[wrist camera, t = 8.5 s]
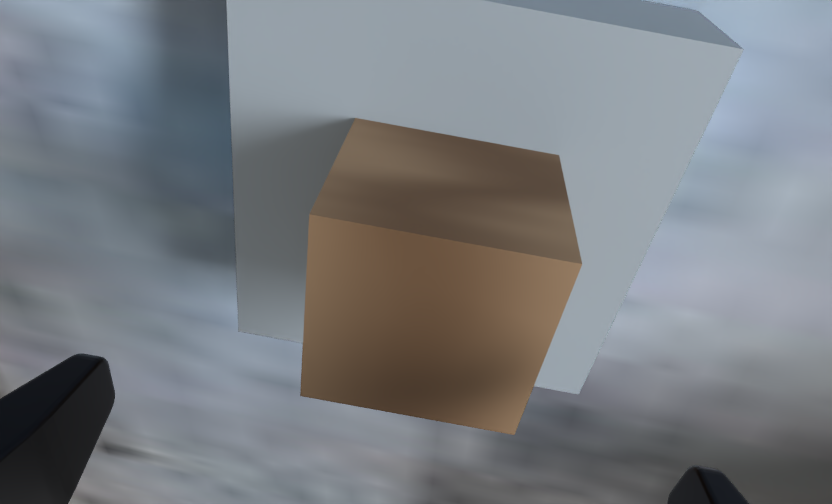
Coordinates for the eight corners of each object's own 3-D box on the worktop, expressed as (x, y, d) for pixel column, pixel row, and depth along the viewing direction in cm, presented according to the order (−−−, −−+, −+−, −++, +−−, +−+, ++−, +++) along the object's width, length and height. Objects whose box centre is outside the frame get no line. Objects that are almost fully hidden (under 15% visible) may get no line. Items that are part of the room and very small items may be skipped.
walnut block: (559, 155, 13) (582, 264, 10) (508, 308, 15) (514, 434, 12) (355, 118, 13) (309, 214, 9) (340, 277, 15) (300, 396, 12)
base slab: (698, 11, 14) (743, 49, 11) (567, 324, 19) (578, 394, 17) (272, -70, 14) (224, -49, 11) (269, 269, 19) (238, 331, 17)
